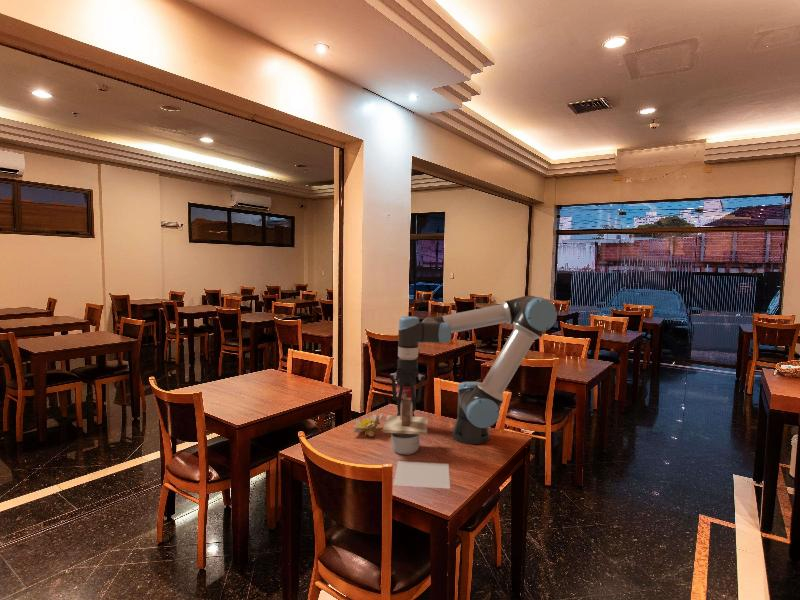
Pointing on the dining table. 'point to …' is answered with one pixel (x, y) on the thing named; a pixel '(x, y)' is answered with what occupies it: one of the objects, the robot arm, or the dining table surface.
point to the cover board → (410, 429)
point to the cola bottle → (405, 392)
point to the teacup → (405, 443)
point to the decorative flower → (368, 424)
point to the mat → (422, 475)
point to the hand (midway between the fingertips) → (406, 418)
